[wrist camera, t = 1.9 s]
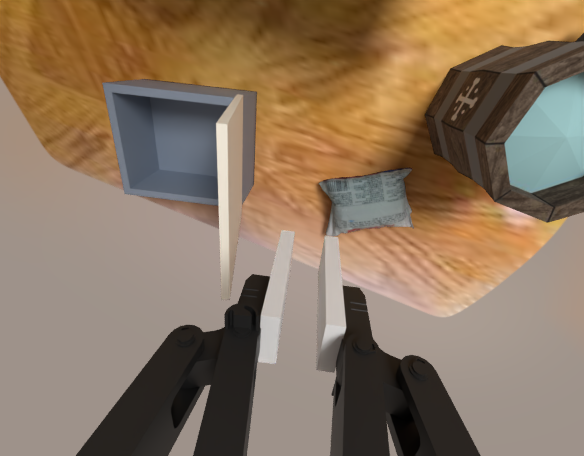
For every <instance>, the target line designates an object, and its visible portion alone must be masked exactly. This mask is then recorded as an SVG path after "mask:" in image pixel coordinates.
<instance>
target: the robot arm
mask: <svg viewBox="0 0 584 456" xmlns="http://www.w3.org/2000/svg"><path fill="white" fill-rule="evenodd" d="M294 235H295V232H292V231H285V230H282V231H281V235H280V239H279V243H278V247H277V251H276V255H275V260H274V264H273V268H272V272H271V276H270V277H269V276H262V275H254V274H252V275H251V276H250V277H249V278H248V279H247V280H246V281H245V285H244V287H243V290H242V293H241V296H240V298H239V301H238V304H235V305H232V306H231V307H230V308H228V309H227V311H226V312H225V327H224V328H222V329H220V330H216V331H210V332H202V330H201V329H200V328H199V327H197V326H195V325H184V326H180V327H178V328H176V329H174V330H173V332H171V333H170V334H169V335H168V337H167V338H166V339H165V341H164V342H163V343H162V345H161V346H160V347H159V349H158V350H157V351H156V352H155V354H154V355H153V356H152V358H151V359H150V360H149V361H148V363H147V364H146V365H145V367H144V368H143V369H142V371H141V372H140V373H139V374H138V376H137V377H136V378H135V380H134V381H133V382H132V384H131V385H130V386H129V387H128V389H127V390H126V391H125V393H124V394H123V395H122V397H121V398H120V399H119V400H118V402H117V403H116V404H115V405H114V407H113V408H112V409H111V411H110V412H109V413H108V415H107V416H106V417H105V419H104V420H103V421H102V422H101V424H100V425H99V426H98V428H97V429H96V430H95V431H94V433H93V434H92V435H91V437H90V438H89V439H88V440H87V442H86V443H85V444H84V446H83V447H82V448H81V450H80V451H79V452H78V453H77V455H76V456H168V455H169V453H170V451H171V449H172V447H173V445H174V443H175V442H176V440H177V438H178V436H179V434H180V432H181V430H182V428H183V427H184V425H185V423H186V421H187V419H188V417H189V415H190V413H191V412H192V410H193V408H194V406H195V404H196V402H197V400H198V398H199V397H200V395H201V393H202V391H203V389H204V387H205V385H211V387H210V391H209V395H208V399H207V403H206V407H205V411H204V415H203V419H202V423H201V427H200V431H199V435H198V439H197V443H196V447H195V451H194V455H193V456H247V448H248V439H249V431H250V423H251V414H252V405H253V397H254V387H255V379H256V368H257V362H264V363H272V364H276V359H277V353H278V346H279V339H280V333H281V327H282V320H283V314H284V308H285V301H286V294H287V289H288V282H289V275H290V269H291V260H292V252H293V243H294ZM316 363H317V364H316V370H321V371H327V372H334V371H335V368H336V375H337V377H336V380H335V384H334V388H333V391H332V396H334V401H333V418H332V435H331V452H330V456H390V453H389V443H388V432H387V424H388V427H389V430H390V433H391V436H392V440H393V443H394V446H395V449H396V452H397V455H398V456H480V454H479V452H478V450H477V448H476V446H475V445H474V442H473V440H472V438H471V437H470V435H469V433H468V431H467V429H466V427H465V425H464V423H463V421H462V419H461V418H460V416H459V414H458V412H457V410H456V408H455V406H454V404H453V402H452V400H451V398H450V397H449V395H448V393H447V391H446V389H445V387H444V385H443V383H442V381H441V379H440V378H439V376H438V374H437V372H436V370H435V369H434V367H433V366H432V365H431V364H430V363H429V362H427V361H426V360H425V359H423V358H421V357H419V356H414V355H409V356H405V357H404V358H403V359H402V360H400V359H398V358H396V357H393V356H390V355H389V354H387V353H385V352H383V351H382V350H381V349H380V348H379V347H378V345H377V343H376V342H375V341H374V340H373V337H372V332H371V327H370V321H369V316H368V312H367V306H366V299H365V295H364V294H363V292H362V291H361V290H360V288H357V287H349V286H343V285H342V274H341V263H340V252H339V241H338V237H331V236H325V238H324V244H323V249H322V255H321V261H320V266H319V272H318V314H317V362H316ZM386 421H387V422H386Z"/></svg>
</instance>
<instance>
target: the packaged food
mask: <svg viewBox="0 0 584 456" xmlns="http://www.w3.org/2000/svg"><path fill="white" fill-rule="evenodd" d="M410 171H412V168H409V167H408V168H401V169H395V170H388V171H383V172H378V173H373V174H370V175H365V176H355V177H341V178H335V179H327V180H324V181H322V182H320V183H319V184H320V186H321V188H322V190H323V191H324V192H325V193H326V194H327V195H328V196H329V198H330V199H331V201H332V207H331V213H330V219H329V223H328V228H327V231H326V235H328V236H337V235H339V234H340V233H349V232H354V231H358V230H361V229H364V228H367V229H371V228H381V227H384V226H387V227H412V228H413V229H414V227H413V224H412V221H411V217H410V213H411V212H412V209H411V207H410V205H409V204H408V201H407V197H406V191H405V183H404V180H403V179H404V178H405V177H406V176H407V175H408V174H409V173H410Z"/></svg>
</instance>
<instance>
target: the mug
mask: <svg viewBox="0 0 584 456" xmlns="http://www.w3.org/2000/svg"><path fill="white" fill-rule="evenodd" d="M425 117H426V121H427V126H428V130H429V134H430V138H431V142H432V146H433V150H434V154H436V155H439V156H441V157H444V158H445V159H446V160H447V161H449V162H450V163H451V164H452V165H453V166H454V168H455V169H456V170H457V171H458V172H459V173H461V174H463V175H465V176H467V177H469V178H470V179H472V180H474V181H475V182H476V183H478V184H479V185H480V186H482V187H483V188H484V189H485V190H486V192H487V193H488V194H489V195H490V197H491V198H492V199H493V200H494V202H497V203H500V204H502V205H505V206H507V207H510V208H512V209H515V210H517V211H520V212H522V213H525V214H527V215H530V216H532V217H535V218H537V219H540V220H542V221H545V222H547V223H548V222H552V221H555V220H558V219H562V218H565V217H569V216H572V215H575V214H579V213H582V212H584V33H583V34H582V35H581V36H580V37H579V38H578V39H577V40H576V41H575V42H559V41H546V42H542V43H538V44H534V45H530V46H526V47H508V46H502V45H501V46H499V47H497V48H495V49H492V50H490V51H488V52H486V53H484V54H481V55H479V56H477V57H475V58H473V59H470V60H468V61H466V62H464V63H462V64H460V65H457V66H455V67H453V68H451V69H450V71H449V72H448V74H447V76H446V78H445V79H444V81H443V83H442V85H441V87H440V88H439V90H438V92H437V94H436V95H435V97H434V99H433V101H432V103H431V104H430V106H429V108H428V110H427V111H426V113H425Z"/></svg>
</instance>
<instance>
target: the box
mask: <svg viewBox="0 0 584 456" xmlns="http://www.w3.org/2000/svg"><path fill="white" fill-rule="evenodd" d="M103 88H104V93H105V98H106V103H107V108H108V113H109V118H110V123H111V128H112V133H113V138H114V143H115V148H116V153H117V158H118V163H119V168H120V173H121V178H122V183H123V188H124V192H125V194H130V195H138V196H146V197H153V198H161V199H169V200H177V201H185V202H193V203H201V204H209V205H217V206H219V202H218V170H217V138H216V123H217V121H218V120H219V118H220V117H221V116H222V114H223V113H224V112H225V110H226V109H227V107H228V106H229V105H230V103H231V102H232V100H233V99H234V98H235V96H236V95H237V94H239V95H243V152H242V204H243V202H244V201H245V199H246V197H247V195H248V194H249V192H250V190H251V188H252V187H253V185H254V162H255V132H256V102H257V92H254V91H245V90H236V89H227V88H219V87H210V86H201V85H192V84H183V83H175V82H166V81H157V80H148V79H140V80H129V81H117V82H106V83H103Z"/></svg>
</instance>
